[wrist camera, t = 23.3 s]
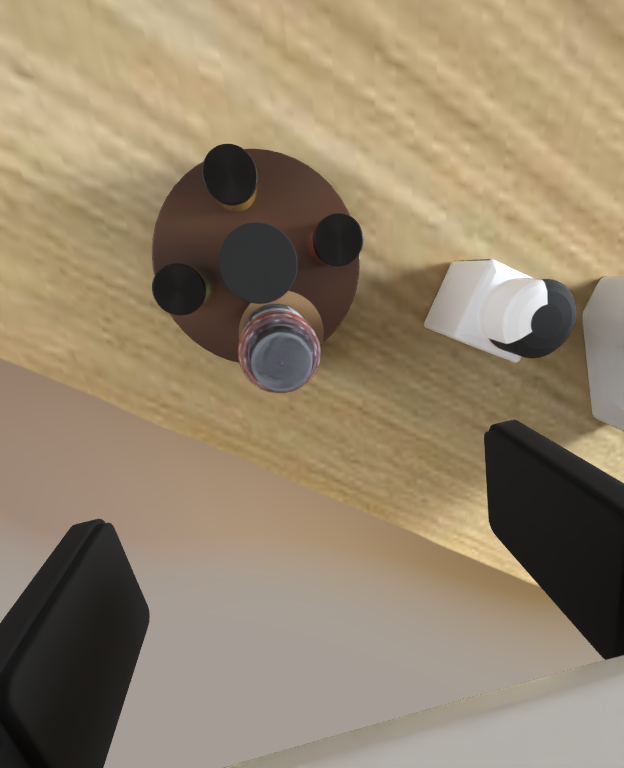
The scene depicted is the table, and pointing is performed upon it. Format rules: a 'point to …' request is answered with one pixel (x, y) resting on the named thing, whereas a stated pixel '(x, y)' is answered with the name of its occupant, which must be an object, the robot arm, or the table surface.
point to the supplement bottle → (278, 349)
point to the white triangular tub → (606, 350)
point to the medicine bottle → (502, 310)
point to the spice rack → (253, 247)
